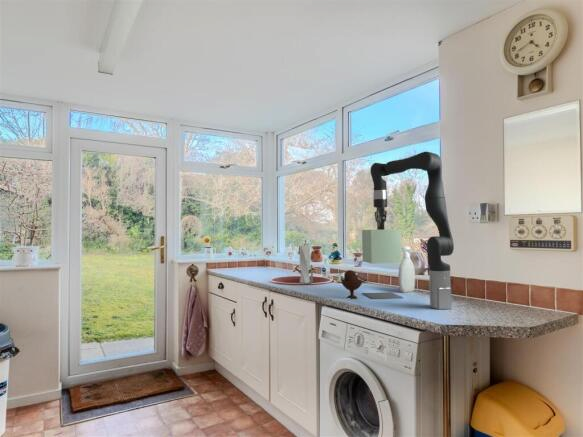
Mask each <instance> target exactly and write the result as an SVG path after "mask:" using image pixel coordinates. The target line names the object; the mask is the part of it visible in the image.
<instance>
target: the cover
mask: <svg viewBox="0 0 583 437" xmlns="http://www.w3.org/2000/svg"><path fill="white" fill-rule="evenodd" d="M385 228H386V227H384V229H380V221H377V222H376V229H362V230H361V241H362V242H361V243H362V244H361V245H362V246H361V250H362V251H361V253H362V258H361V259H362V262H363V263H368V264H375V265H376V264H377V265H378V264H400V263H402V259H403V255H402V254H403V253H402V249H401V248H402V229H385Z"/></svg>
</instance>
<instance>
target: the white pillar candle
mask: <svg viewBox="0 0 583 437" xmlns="http://www.w3.org/2000/svg"><path fill="white" fill-rule="evenodd" d="M310 263H311V252H310V246H309V245H308V244H307V243H304V242H301V243H300V248H299V266H300V269H301V270H300V280H299V283H300V284H303V285H304V284H305V285H309V284H313V283H314V276H313V274H314V271H313V266H311V267H310V265H311V264H310ZM309 268H310V269H311V270H310V273H309Z"/></svg>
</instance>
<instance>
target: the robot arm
mask: <svg viewBox="0 0 583 437" xmlns="http://www.w3.org/2000/svg"><path fill="white" fill-rule="evenodd" d="M370 166H371V167H370V176H371V179H372V183H373V195H372V196H373V197H372V200H373V208H376V209H375V211H374V221H375V223H377V221H380V229H384V228H385V222H386V221H387V214H388V213H387V212H388V211H387V210H386V209H385V208H388V192H387V188H388V187H387V181H386V180H385V179H383V177H388V176H390V175H395V174H401V173H404V172H406V171H408V170H415V169H416V170H421V171H425V172H427V178H428V179H427V180H428V184H427V189H426V191H425V193H424V194H425V195H424V204H425V210H426V213H427V214H428V216H429V217H430V219H431V220H432V221H433V223H434V225H436V228H437V231H438V234H439V236H438V235H437V236H435V235H433V236H430V237H428V239H427V242H426V254H427V255H426V256H427V266H428V268H429V270H428V271H429V273H428V274H429V276H428V277H429V278H428V279H429V307H430V308H433V309H437V310H451V309H453V306H452V302H453V301H452V288H451V287H452V286H451V265H450V264H449V263H446V262H444V261H443V260H442V258H441V257H447V256H448V257H449V256H451V255H452V254H453V253H454V249H455V248H454V246H455V245H454V239H453V235H452V231H451V228H450V223H449V218H448V217H449V216H448V211H447V203H446V197H445V191H444V190H445V189H444V183H443V182H444V181H443V167H442V166H443V165H442V158H441V156H439V154H437V153H433V152H430V151H422V152H420V153H417V154H415V155H411V156H409V157H406V158H401V159H396V160H391V161H388V162H386V163H381V162H380V163H379V162H374V163H372V165H370Z"/></svg>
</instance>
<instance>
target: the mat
mask: <svg viewBox="0 0 583 437" xmlns="http://www.w3.org/2000/svg"><path fill="white" fill-rule="evenodd" d="M361 294H362V295H363V296H364V297H367V298H369V299H371V300H386V299H387V300H389V299H393V300H395V299H404V296H401V295H398V294H396V293H394V292H390V291H389V292H388V291H385V292H383V291H382V292H361Z"/></svg>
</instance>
